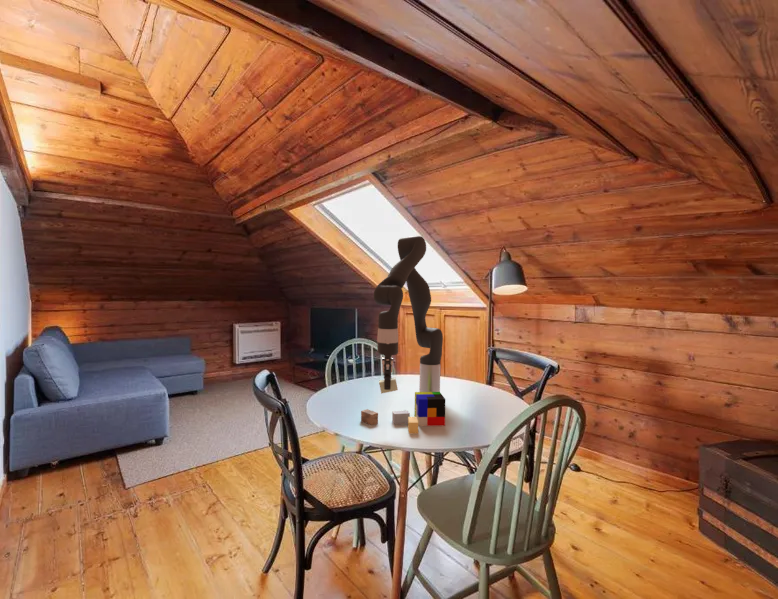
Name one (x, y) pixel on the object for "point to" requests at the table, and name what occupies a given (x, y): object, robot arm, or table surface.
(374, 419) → the walnut brick
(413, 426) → the mustard brick
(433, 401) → the puzzle toy
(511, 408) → the table surface
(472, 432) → the table surface
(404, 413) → the slate brick
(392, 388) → the cream brick
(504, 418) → the table surface
